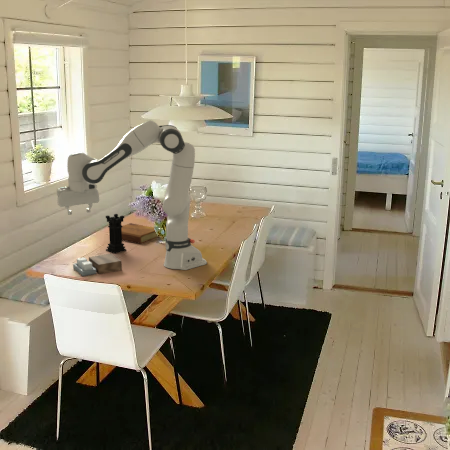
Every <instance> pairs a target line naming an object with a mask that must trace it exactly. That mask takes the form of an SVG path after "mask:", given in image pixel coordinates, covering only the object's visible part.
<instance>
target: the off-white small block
mask: <svg viewBox="0 0 450 450" xmlns="http://www.w3.org/2000/svg"><path fill="white" fill-rule="evenodd" d="M82 270H83V271H86V270H92V263H91V262H90V261H89V260H87V262H82Z"/></svg>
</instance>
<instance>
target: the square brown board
mask: <svg viewBox="0 0 450 450" xmlns="http://www.w3.org/2000/svg"><path fill="white" fill-rule="evenodd" d="M88 261H90V262H91V263H92V266H93V267H94V268H95V269H96V274H98V275H103V274H108V273H112V272H113V273H114V272H118V271H122V268H123V267H122V260H121V259H120V258H118V257H117V256H115V255H114V253H111V252H109V253H106V254H99V255H94V256H88Z"/></svg>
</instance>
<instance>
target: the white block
mask: <svg viewBox="0 0 450 450" xmlns="http://www.w3.org/2000/svg"><path fill="white" fill-rule="evenodd" d="M87 261H88V259H87V258H86V257H85V256H84V257H77V258H76V263H77V266H78V267H79V268H81V269H82V262H87Z"/></svg>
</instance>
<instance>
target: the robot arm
mask: <svg viewBox="0 0 450 450" xmlns="http://www.w3.org/2000/svg"><path fill="white" fill-rule="evenodd" d="M156 143H158V144H160V146H161V147H162V148H163V149H164V150H166V151H168V152H169V153H172V160H171V167H170V174H169V179H168V182H167V186H166V189H165V194H164V197H163V202H162V206H161V207H162V210H163V212H164V213H165V214H166V215H167V217H166V218H167V220H166V224H165V226H166V228H165V229H166V233H165V235H166V238H165V250H166V251H165V257H164V262H163V266H164V267H165V268H167V269H172V270H182V271H187V270H190V269H194V268H198V267H201V266H205V265H207V264H208V263H207V260H206V259H205V258H203V255H202V251H201V250H199V249H198V248H197V247H195V246H194V245H192V244H195V242H196V241H195V239H193V238H190V237H189V217H190V210H191V209H190V208H191V207H190V205H191V195H190V192H189V190H190V187H191V184H192V181H193V175H194V167H195V162H196V159H195V158H196V149H195V147H194V145H193V144H191V143H190V142H185V141H184V139H183V135H182V132H181V131H180V130H179V129H178V128H177V127H176V126H175V125H171V124H166V125H164V124H163V125H159V124H158V123H157V122H156V121H154V120H147V121H144V122H142V123H140V124H139V125H137V126H134V128H131V130H129V131H128V132H127V133H126V134H125V135H123V137H122V138H121V139H120V140H119V143H118V144H117V145H116V147H115V148H114V149H113V150H111V151H110V152H109V153H107V154H106V155H104V156H103V157H102V158H100V159H99V158H95V157H92V156H90V155H87V154H85V152H83V151H82V152H81V151H79V152H78V151H77V152H73V153H71V154H70V155H69V156H67V161H66V162H67V165H66V167H67V173H68V178H67V184H68V186H64V187H59V188H58V189H57V190H56V196H57V200H56V201H57V205H58V206H59V207H60V208H62V207H64V208H65V210H66V211H67V215H72V214H73V213H72V212H73V211H72V210H71V209H70V206H81V205H88V207H87V208H86V213H91V209H92V207H93V204H97V203H99V202H100V193H99V190H98V189H97V188H98V186H97V184H98V183H100V182H101V181H102V180H103V179H104V177H105V175H106V174H107V173H108V172H109V171H110V170H111V169H112V168H114V167H115V166H117V165H118V164H119V163H121V162H122V161H124V160H126V159H128V158H130V157H133V156H134V155H137V154H138V153H141V152H142V151H144V150H146V148H148V147H149V146H151V145H153V144H156Z"/></svg>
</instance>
